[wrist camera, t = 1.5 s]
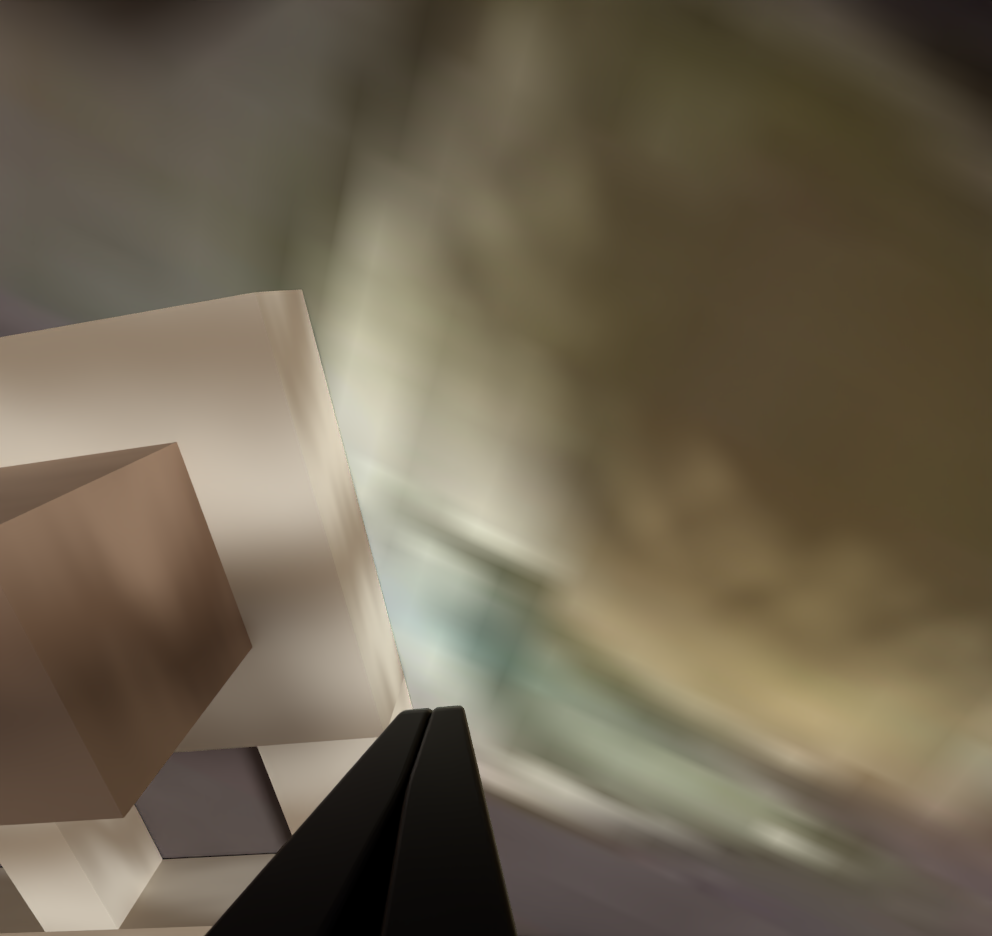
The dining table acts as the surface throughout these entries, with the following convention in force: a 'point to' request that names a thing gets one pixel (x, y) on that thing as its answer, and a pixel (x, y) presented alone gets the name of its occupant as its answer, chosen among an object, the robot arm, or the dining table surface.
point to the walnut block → (104, 629)
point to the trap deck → (249, 569)
